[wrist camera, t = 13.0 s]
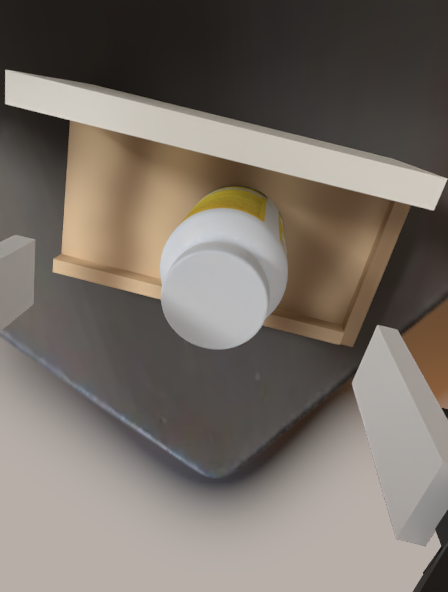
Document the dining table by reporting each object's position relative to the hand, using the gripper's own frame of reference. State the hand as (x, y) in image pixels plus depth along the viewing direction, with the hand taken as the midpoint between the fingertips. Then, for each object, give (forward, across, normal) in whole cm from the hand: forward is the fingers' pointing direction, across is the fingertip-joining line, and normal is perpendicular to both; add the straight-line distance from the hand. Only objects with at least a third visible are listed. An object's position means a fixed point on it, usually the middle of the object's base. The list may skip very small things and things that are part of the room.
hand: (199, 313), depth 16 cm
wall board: (+17, -1, +5) cm, 18 cm away
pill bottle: (+14, 0, 0) cm, 14 cm away
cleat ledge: (+17, -1, 0) cm, 17 cm away
